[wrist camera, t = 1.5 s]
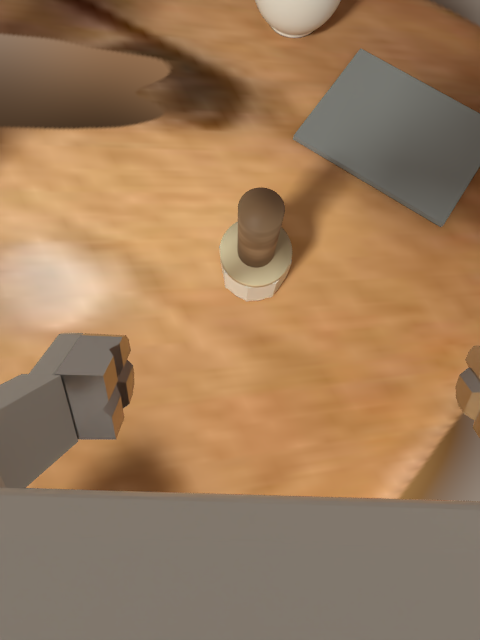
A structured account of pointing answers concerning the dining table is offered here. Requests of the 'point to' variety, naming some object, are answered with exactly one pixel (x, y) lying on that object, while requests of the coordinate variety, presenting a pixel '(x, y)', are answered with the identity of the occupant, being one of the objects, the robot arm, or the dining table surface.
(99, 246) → the dining table surface
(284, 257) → the brown peg on disc
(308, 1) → the lidded jar
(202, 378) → the dining table surface
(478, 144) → the mat
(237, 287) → the white octagonal base
